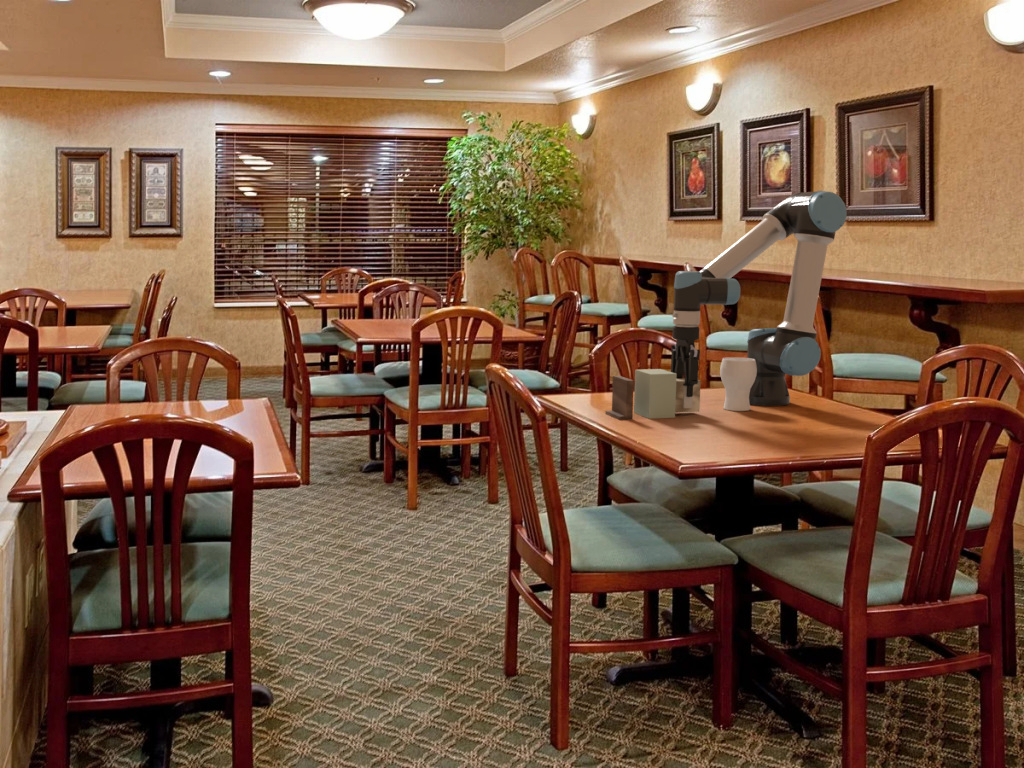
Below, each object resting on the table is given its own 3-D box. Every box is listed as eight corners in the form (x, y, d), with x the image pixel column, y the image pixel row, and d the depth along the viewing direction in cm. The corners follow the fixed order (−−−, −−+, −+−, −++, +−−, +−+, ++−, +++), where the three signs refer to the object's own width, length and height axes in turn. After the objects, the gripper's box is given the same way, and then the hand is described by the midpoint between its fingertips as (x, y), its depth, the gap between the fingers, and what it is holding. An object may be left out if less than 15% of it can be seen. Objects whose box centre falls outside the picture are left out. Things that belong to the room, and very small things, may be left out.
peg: (691, 408, 310) (692, 378, 308) (699, 411, 305) (700, 380, 304) (647, 410, 305) (648, 379, 304) (654, 413, 301) (655, 381, 299)
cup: (755, 412, 310) (757, 361, 308) (718, 411, 312) (720, 360, 310) (754, 407, 321) (756, 357, 318) (718, 405, 323) (720, 356, 321)
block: (659, 411, 310) (660, 368, 308) (674, 417, 300) (676, 373, 298) (633, 412, 307) (635, 369, 305) (649, 418, 297) (650, 374, 296)
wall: (618, 413, 306) (619, 375, 304) (632, 419, 296) (633, 380, 295) (605, 414, 304) (606, 376, 303) (619, 420, 295) (620, 380, 293)
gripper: (660, 323, 310) (657, 401, 313) (688, 328, 293) (685, 411, 296) (683, 322, 312) (680, 401, 316) (713, 328, 295) (709, 411, 298)
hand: (682, 406), depth 306 cm, fingers closed on peg, 5 cm apart
